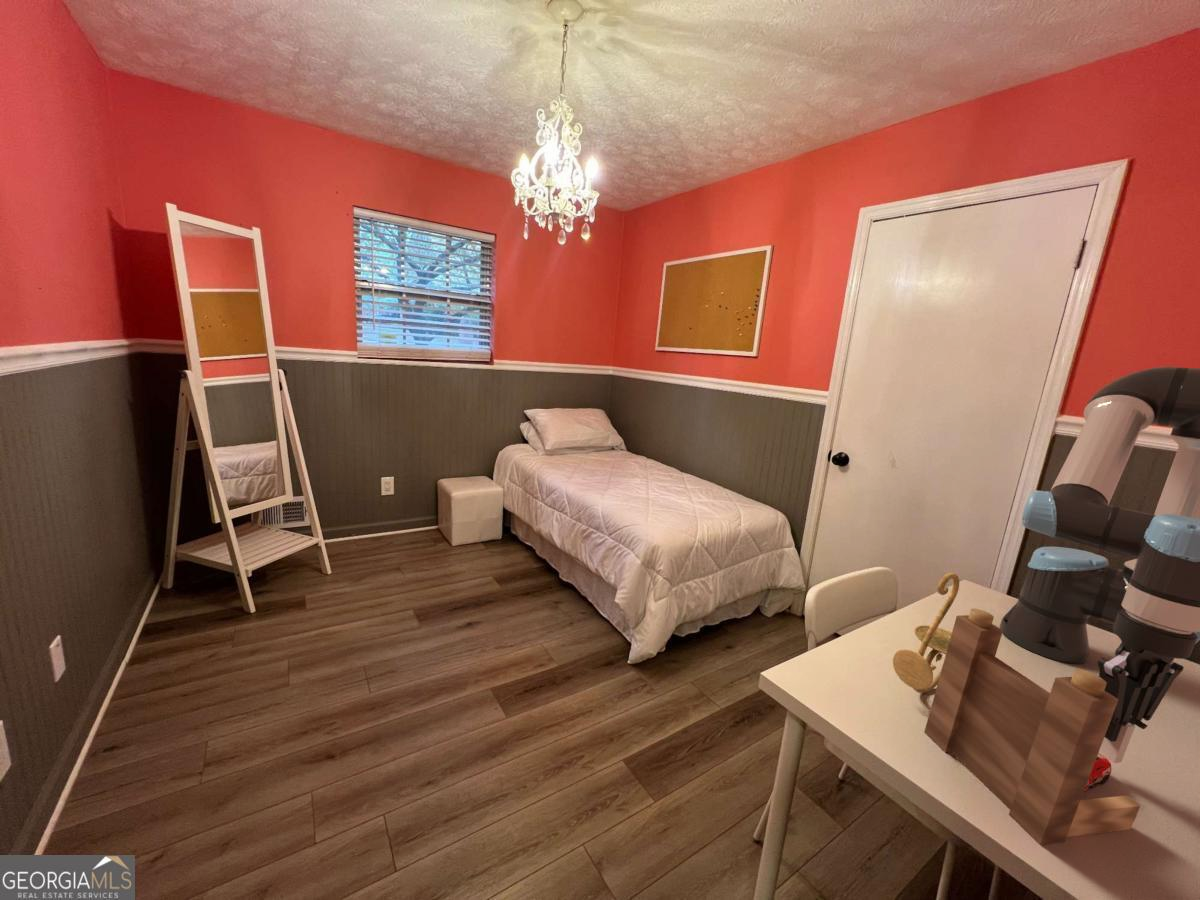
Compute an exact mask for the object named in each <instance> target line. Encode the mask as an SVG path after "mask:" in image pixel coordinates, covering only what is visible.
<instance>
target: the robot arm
mask: <svg viewBox="0 0 1200 900" xmlns="http://www.w3.org/2000/svg"><path fill="white" fill-rule="evenodd" d="M1083 418H1084V420H1085V422H1084V424H1083V425H1082V428H1081V430H1080V431H1079V434H1078V435H1077V438H1076V440H1075V442H1074V443H1073V445H1072V448H1071V450H1070V452H1069V454H1068V455H1067V457H1066V459H1065V461H1064V463H1063V465H1062V467H1061V469H1060V471H1059V473H1058V475H1057V477H1056V478H1055V481H1054V483H1053V484H1052V487H1051V489H1050V491H1049V490H1046V491H1045V490H1038V489H1037V490H1034V491H1032V492H1031V493H1030V494H1029V496H1028V498H1027V500H1026V502H1025V505H1024V506H1023V507H1024V508H1023V512H1022V517H1021V524H1022V526H1023V527H1025V529H1028V530H1031V531H1033V532H1036V533H1039V534H1043V535H1045V536H1049V537H1050V538H1058V539H1062V540H1063V541H1064V540H1065V541H1068V542H1069V541H1070V542H1073V543H1077V544H1080V545H1084V546H1088V547H1092V548H1096V549H1100V550H1102V551H1103V550H1104V551H1106V552H1110V553H1113V554H1117V555H1121V556H1125V557H1129V558H1133V559H1131V560H1130V559H1129V560H1127V561H1125V562H1124V564H1123V566H1122V569H1120V568H1116V567H1112V566H1109V565H1110V563H1109V559H1108V558H1107V557H1105V556H1102V555H1100V554H1096V553H1094V552H1091V551H1087V550H1081V549H1077V548H1071V547H1070V548H1069V547H1061V546H1041V547H1037V549H1035V550H1034V552H1032V556H1031V558H1030V560H1029V562H1028V563H1027V571H1026V574H1025V577H1024V580H1023V583H1022V586H1021V590H1020V593H1019V597H1018V599H1017V601H1016V603H1015V604H1014V605H1013V606H1012V607H1011V608H1010V609H1009V611H1008V612H1007V613H1005V615H1004V616H1003V617H1002V618H1001V621H1000V624H999V626H998V628H1000V629H1002V630H1003V632H1002V635H1004V636H1005V638H1007V639H1009V640H1010V641H1011V642H1013V643H1014V644H1016V645H1018V646H1020V647H1021V648H1024V649H1025V650H1028V651H1030V652H1032V653H1034V654H1037V655H1039V656H1042V657H1045V658H1048V659H1052V660H1054V661H1059V662H1063V663H1068V664H1084V663H1086V662H1087V660H1088V658H1089V655H1090V651H1091V649H1090V645H1089V644H1090V643H1089V636H1088V630H1087V629H1088V628H1087V624H1088V621H1089V618H1090V617H1091V618H1094V619H1098V620H1101V621H1103V622H1107V623H1109V624H1112V632H1113V633H1114V634H1115V635H1116V636H1117V637H1118V638H1119V639H1120V644H1119V645H1118V647H1117V648H1116V650H1115V652H1114V657H1113V658H1111V659H1110V660H1108V659H1106V658H1105V657H1101V658H1099V659H1098V660H1097V665H1098V670H1099V674H1098V676H1099V677H1100V678H1102V679H1103V680H1105V681H1106V683H1107V684H1106V687H1105V689H1104V691H1106V692H1107V693H1109V694H1111V695H1112V696H1114V697H1116V698H1117V699H1119V700H1118V703H1117V705H1116V708H1115V711H1114V713H1113V716H1112V718H1111V721H1110V724H1109V726H1108V729H1107V732H1106V734H1105V737H1104V740H1103V742H1102V745H1101V747H1100V750H1099V754H1100V755H1102V756H1104V757H1105V758H1106V759H1108V761H1110V762H1112V763H1113V764H1118V763H1119V764H1120V763H1122V761H1123V759H1124V757H1125V754H1126V751H1127V748H1128V746H1129V744H1130V741H1131V739H1132V736H1133V733H1134V730H1135V728H1136V727H1138V728H1140V729H1142V730H1144V729H1146V728H1148V724H1146V723H1144V722H1143V720H1145V722H1147V721H1150V720H1151V719H1152V718H1153V716H1154V714H1155V712H1156V711H1157V709H1158V708H1159V706H1160V704H1161V702H1162V700H1163V699H1164V698H1165V695H1166V694H1167V693H1168V692H1169V691H1168V690H1169V689H1170V687H1171V686H1172V684H1173V683H1174V680H1176V678H1177V677H1178V676H1179V675H1180V674H1181V673H1183V671H1184V668H1185V667H1184V666H1183V665H1181V664H1179V663H1178V662H1175V661H1174V660H1175V659H1178V660H1179V659H1181V660H1182V659H1188V658H1190V657H1191V656H1192V652H1193V650H1194V648H1195V645H1196V644H1197V643H1198V642H1199V641H1200V368H1199V367H1198V368H1195V367H1178V366H1158V367H1152V368H1146V369H1142V370H1138V371H1134V372H1132V373H1128V374H1127V375H1124V376H1121V377H1119V378H1116V379H1115V380H1113V381H1111V382H1109V383H1108V384H1105V386H1103V387H1102V388H1100V389H1099V390H1098V391H1097V392H1096V393H1094V395H1092V396H1091V398H1090V399H1089V400H1088V402H1087V403H1086V406H1085V408H1084V410H1083ZM1150 425H1152V426H1153V425H1154V426H1155V425H1156V426H1160V427H1168V428H1172V430H1171V432H1170V435H1169V437H1170V438H1171V439H1172V440H1173V441H1174V442H1175V443H1176V444H1177V445H1178V448H1177V450H1176V453H1175V456H1174V459H1173V462H1172V465H1171V466H1170V470H1169V472H1168V476H1167V478H1166V481H1165V484H1164V486H1163V489H1162V491H1161V495H1160V497H1159V500H1158V502H1157V506H1156V509H1155V511H1154V514H1150V513H1146V512H1143V511H1142V512H1141V511H1137V510H1132V509H1127V508H1122V507H1120V506H1119V507H1117V506H1113V505H1110V503H1111V500H1112V497H1113V496H1114V493H1115V491H1116V489H1117V487H1118V484H1119V481H1120V479H1121V476H1122V475H1123V472H1124V470H1125V467H1126V465H1127V463H1128V460H1129V459H1130V457H1131V453H1132V452H1133V449H1134V447H1135V444H1136V442H1137V440H1138V437H1139V435H1140V432H1141V431H1144V430H1146V429H1147V428H1148V427H1149V426H1150Z"/></svg>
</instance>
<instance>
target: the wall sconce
mask: <svg viewBox="0 0 1200 900" xmlns="http://www.w3.org/2000/svg"><path fill="white" fill-rule="evenodd" d="M951 579H952V586H951V590H950V592H949V587H947V586H946V585H947V583H948V582H949V581H950V580H951ZM959 589H960V578H959V576H958V575H957V573H955V572H948V573H947V574H945V575H943V576H942V578H941V579H940V581H939V582H938V584H937V589H936V591H937V594H939V595H941V596H945V595H947V594H948V592H949V594H948V597H947V598H946V600H945V602H944V604H943V605H942V607H941V609H940V610H939V612H938V613H937V615H936V616H935V618H934V619H933V621H932V622H931V624H930V625H917V626H916V627H914V630H913V632H914V635H915V637H916V638H917V639H918V640H919V641H920V642H921V644H920V646H919V648H918V651H915V650H912V649H908V648H903V649H902V648H901V649H899V650H898V651H896V652H895V653H894V654H893V657H892V667H893V670H894V672H895V674H896V676H897V677H898V678H899V679H900V681H902V683H904V684H905V685H907V686H908V687H910V688H912V689H913V690H914V691H915V692H916V693H918V694H925V693H929V691H932V690H933V689H934V688H937V685H938V681H939V677H940V674H941V670H942V667H943V665H942V666H941V668H940V670H939V672H938V673H937V675H936V676H935V677H934V674H933V671H935V670H936V669H937V666H936V665H934V664H932V662H933V660H934V659H935V663H937V662H939V661H941V660H942V659H943V654H944V655H946V652H947V649H948V645H949V642H950V638H951V634H952V632H951V631H950V630H946V629H944V628H941V627H939V625H940V624H941V622H942V621H943V620H944V617H945V616H946V614H947V613H948V612H949V610H950V608H951V607H952V605H953V603H954V601H955V599H956V597H957V595H958V593H959ZM928 647H929V648H931V650H930V652H928V654H927V656H926V658H925V657H924V656H925V653H926V651H927V648H928Z"/></svg>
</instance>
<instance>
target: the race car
mask: <svg viewBox="0 0 1200 900" xmlns="http://www.w3.org/2000/svg"><path fill="white" fill-rule="evenodd" d="M1111 774H1112V763H1111V761H1110V760H1109V759H1108V758H1106V757H1105V756H1103V755H1102V754H1101V753H1098V755H1097V758H1096V761H1095V763H1094V766H1093V768H1092V771H1091V774H1090V776H1089V779H1088V782H1087V784H1086V787H1085V790H1084V792H1086V791H1088V790H1091V789H1093V788H1096V787H1097V786H1100V785H1101V786H1103V785H1105V784H1106V782H1107V781H1109V779H1110V778H1111Z"/></svg>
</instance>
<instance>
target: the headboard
mask: <svg viewBox="0 0 1200 900" xmlns="http://www.w3.org/2000/svg"><path fill="white" fill-rule="evenodd" d="M994 617H995V616H994V615H993V614H991V613H990V612H988V611H986V610H983V609H979V608H971V609H970V611H969V614H968V615H967V614H965V615H961V614H960V615H956V617H955V621H954V624H953V627H952V634H951V638H950V642H949V645H948V649H947V652H946V654H945V656H944V661H943V663H942V666H943V667H942V666H941V668H942V670H941V669H940V670H941V674H940V677H939V681H938V685H937V686H936V687H935V688H936V689H935V691H934V692H935V693H934V696H933V699H932V702H931V706H930V710H929V714H928V718H927V721H926V725H925V728H924V734H925V735H926V736H927V737H929V739H930V740H931V741H932V742H934V743H935V744H936V745H937V746H938V747H939V748H940V749H941V750H942V751H943V752H944V753H951V755H953V756H954V757H955V758H956V759H957V760H958V761H959V762H960V763H961V764H962V765H963V766H964V767H965V768H966V769H967V770H968V771H969V772H970V773H972V774H973V775H974V777H975V778H977V779H978V780H979V781H980V782H981V783H982V784H983V785H984V786H985V787H986V788H987V789H988V790H989V791H990V792H991V793H993V795H995V796H996V797H997V799H999V800H1000V801H1001V803H1003V805H1005V806H1006V807H1007V808H1008V809H1009V811H1008V812H1009V813H1008V815H1009V816H1010V817H1011V818H1012V819H1013V820H1014V821H1015V822H1016V823H1017V824H1018V825H1019V826H1020V827H1021V828H1022V829H1023V830H1024V831H1025V832H1026V833H1027V834H1028V835H1030V836H1031V838H1033V840H1035V841H1036V842H1037V844H1039V845H1040V846H1041V845H1048V844H1049V845H1050V844H1058V843H1065V842H1066V839H1067V838H1071V837H1079V836H1087V835H1096V834H1104V833H1112V832H1119V831H1127V830H1128V831H1129V830H1132V827H1133V826H1134V825H1133V824H1134V822H1135V820H1136V818H1137V816H1138V813H1139V810H1140V808H1141V805H1140V804H1139V803H1137V802H1136V801H1135V800H1134V799H1132V798H1131V797H1130V796H1128V795H1120V796H1119V795H1118V796H1109V797H1099V798H1091V799H1090V798H1089V799H1082V797H1083V794H1084V792H1085V791H1084V790H1085V787H1086V784H1087V782H1088V779H1089V776H1090V774H1091V771H1092V768H1093V766H1094V763H1095V761H1096V758H1097V755H1098V753H1099V750H1100V747H1101V745H1102V742H1103V740H1104V737H1105V734H1106V732H1107V729H1108V726H1109V724H1110V721H1111V718H1112V716H1113V713H1114V711H1115V708H1116V705H1117V703H1118V700H1119V699H1117V698H1116V697H1114V696H1112V695H1111V694H1109V693H1107V692H1106V691H1104V689H1105V687H1106V684H1107V683H1106V681H1105V680H1103V679H1102V678H1100V677H1099V675H1096V674H1095V673H1092V672H1090V671H1088V670H1084V669H1075V670H1074V672H1073V674H1072V676H1063V677H1061V676H1060V677H1054V681H1053V684H1052V687H1051V690H1050V692H1049V691H1048V690H1046V689H1045V688H1043V687H1042V686H1040V685H1039V684H1037V683H1036V682H1035V681H1033V680H1031V679H1029V678H1028V677H1027V676H1025V675H1023V674H1022V673H1021V672H1019V671H1018V670H1016V669H1014V668H1013V667H1012V666H1010V665H1008V664H1007V663H1006V662H1004V661H1003V660H1002V659H999V658H998V657H997V656H996V655H997V652H998V648H999V645H1000V643H1001V639H1002V636H1003V633H1002V632H1003V630H1002V629H1000V628H999V626H997V625H995V624H994V623H993V621H994ZM1099 754H1100V753H1099Z"/></svg>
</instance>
